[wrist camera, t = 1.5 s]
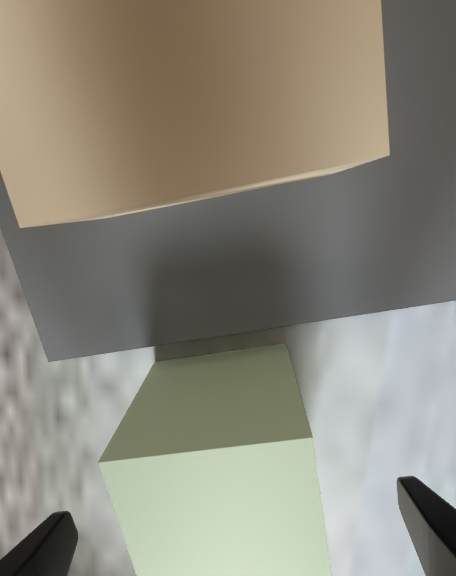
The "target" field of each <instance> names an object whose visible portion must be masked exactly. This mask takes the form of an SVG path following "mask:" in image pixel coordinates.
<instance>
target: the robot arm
mask: <svg viewBox="0 0 456 576" xmlns="http://www.w3.org/2000/svg"><path fill="white" fill-rule="evenodd" d="M397 493H398V504H399V508H400V512H401V514H402V517H403V519H404V522H405V524H406V527H407V529H408V532H409V534H410V537H411V539H412V542H413V544H414V547H415V549H416V552H417V555H418V557H419V560H420V562H421V565H422V567H423V570H424V572H425V574H426V576H456V509H455V508H454V507H453V506H451V505H450V504H449V503H448V502H446V501H445V500H444V499H443V498H441V497H440V496H439V495H437V494H436V493H435V492H434V491H432V490H431V489H430V488H429V487H427V486H426V485H425V484H424V483H422V482H421V481H420V480H419V479H417V478H416V477H414V476H405V477H399V478H398V479H397ZM77 542H78V531H77V529H76V526H75V523H74V521H73V518H72V516H71V513H70V512H68V511H61V512H55V513H53V514H51V515H50V516H49V517H48V518H47V519H46V520H45V521H43V522H42V523H41V524H40V525H39V526H38V527H37V528H36V529H35V530H33V531H32V532H31V533H30V534H29V535H28V536H27V537H26V538H24V539H23V540H22V541H21V542H20V543H19V544H18V545H17V546H15V547H14V548H13V549H12V550H11V551H10V552H9V553H8V554H6V555H5V556H4V557H3V558H2V559H1V560H0V576H67V575H68V571H69V568H70V565H71V562H72V558H73V555H74V552H75V549H76V545H77Z"/></svg>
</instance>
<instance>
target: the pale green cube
mask: <svg viewBox="0 0 456 576" xmlns="http://www.w3.org/2000/svg"><path fill="white" fill-rule="evenodd" d="M98 465H99V467H100V470H101V473H102V476H103V479H104V482H105V485H106V488H107V491H108V494H109V497H110V500H111V503H112V506H113V508H114V511H115V514H116V517H117V520H118V523H119V526H120V529H121V532H122V535H123V538H124V541H125V544H126V546H127V549H128V552H129V555H130V558H131V561H132V564H133V567H134V570H135V573H136V576H332V572H331V564H330V557H329V550H328V543H327V536H326V529H325V521H324V514H323V507H322V500H321V493H320V485H319V478H318V471H317V464H316V457H315V450H314V442H313V436H312V433H311V429H310V426H309V422H308V419H307V416H306V412H305V409H304V405H303V402H302V398H301V395H300V391H299V388H298V384H297V381H296V377H295V374H294V370H293V367H292V363H291V360H290V356H289V353H288V349H287V346H286V343H281V344H274V345H268V346H261V347H254V348H247V349H240V350H233V351H226V352H219V353H212V354H206V355H199V356H192V357H185V358H178V359H171V360H164V361H157V362H155V363H154V364H153V366H152V368H151V370H150V371H149V373H148V375H147V377H146V378H145V380H144V382H143V384H142V386H141V387H140V389H139V391H138V393H137V394H136V396H135V398H134V400H133V401H132V403H131V405H130V407H129V408H128V410H127V412H126V414H125V416H124V417H123V419H122V421H121V423H120V424H119V426H118V428H117V430H116V431H115V433H114V435H113V437H112V439H111V440H110V442H109V444H108V446H107V447H106V449H105V451H104V453H103V454H102V456H101V458H100V460H99V461H98Z"/></svg>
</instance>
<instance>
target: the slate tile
mask: <svg viewBox="0 0 456 576" xmlns="http://www.w3.org/2000/svg"><path fill="white" fill-rule="evenodd" d="M381 9H382V26H383V44H384V61H385V79H386V97H387V114H388V132H389V149H390V155H389V156H386V157H383V158H380V159H377V160H374V161H371V162H367V163H364V164H361V165H358V166H355V167H352V168H349V169H346V170H343V171H340V172H337V173H334V174H331V175H326V176H321V177H315V178H310V179H305V180H300V181H295V182H290V183H285V184H280V185H274V186H269V187H264V188H259V189H254V190H249V191H244V192H239V193H233V194H228V195H223V196H218V197H213V198H208V199H203V200H197V201H192V202H187V203H182V204H177V205H172V206H167V207H162V208H156V209H151V210H146V211H141V212H136V213H131V214H126V215H121V216H115V217H110V218H105V219H96V220H87V221H78V222H69V223H61V224H52V225H43V226H34V227H26V228H20V227H19V224H18V221H17V218H16V215H15V212H14V209H13V207H12V204H11V201H10V198H9V195H8V192H7V189H6V186H5V183H4V180H3V177H2V174H1V171H0V227H1V230H2V232H3V235H4V238H5V241H6V244H7V246H8V249H9V252H10V255H11V258H12V261H13V263H14V266H15V269H16V272H17V275H18V277H19V280H20V283H21V286H22V289H23V292H24V294H25V297H26V300H27V303H28V306H29V308H30V311H31V314H32V317H33V320H34V323H35V325H36V328H37V331H38V334H39V337H40V339H41V342H42V345H43V348H44V351H45V354H46V356H47V359H48V362H52V361H58V360H65V359H71V358H78V357H85V356H91V355H98V354H104V353H111V352H118V351H124V350H131V349H137V348H144V347H151V346H157V345H164V344H171V343H177V342H184V341H190V340H197V339H204V338H210V337H217V336H223V335H230V334H237V333H243V332H250V331H256V330H263V329H270V328H276V327H283V326H289V325H296V324H303V323H309V322H316V321H323V320H329V319H336V318H342V317H349V316H356V315H362V314H369V313H375V312H382V311H389V310H395V309H402V308H408V307H415V306H422V305H428V304H435V303H441V302H448V301H455V300H456V0H381Z"/></svg>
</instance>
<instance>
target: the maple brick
mask: <svg viewBox="0 0 456 576" xmlns="http://www.w3.org/2000/svg"><path fill="white" fill-rule="evenodd" d="M389 155H390V149H389V132H388V114H387V97H386V79H385V61H384V44H383V26H382V9H381V0H0V171H1V174H2V177H3V180H4V183H5V186H6V189H7V192H8V195H9V198H10V201H11V204H12V207H13V209H14V212H15V215H16V218H17V221H18V224H19V227H20V228H26V227H34V226H43V225H52V224H61V223H69V222H78V221H87V220H96V219H105V218H110V217H115V216H121V215H126V214H131V213H136V212H141V211H146V210H151V209H156V208H162V207H167V206H172V205H177V204H182V203H187V202H192V201H197V200H203V199H208V198H213V197H218V196H223V195H228V194H233V193H239V192H244V191H249V190H254V189H259V188H264V187H269V186H274V185H280V184H285V183H290V182H295V181H300V180H305V179H310V178H315V177H321V176H326V175H331V174H334V173H337V172H340V171H343V170H346V169H349V168H352V167H355V166H358V165H361V164H364V163H367V162H371V161H374V160H377V159H380V158H383V157H386V156H389Z"/></svg>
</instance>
